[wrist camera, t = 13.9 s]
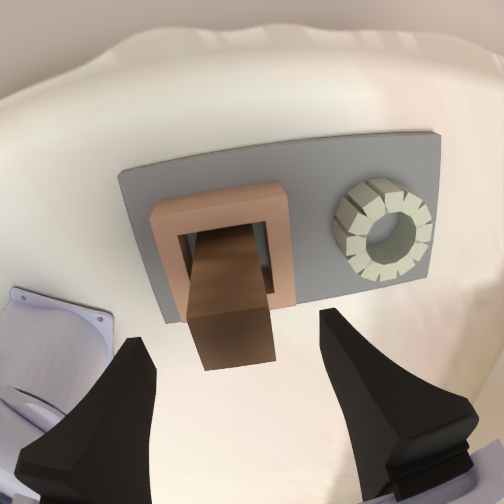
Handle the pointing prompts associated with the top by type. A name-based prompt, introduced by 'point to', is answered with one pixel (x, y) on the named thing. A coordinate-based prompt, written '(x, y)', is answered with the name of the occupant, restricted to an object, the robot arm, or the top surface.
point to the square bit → (229, 300)
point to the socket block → (293, 214)
